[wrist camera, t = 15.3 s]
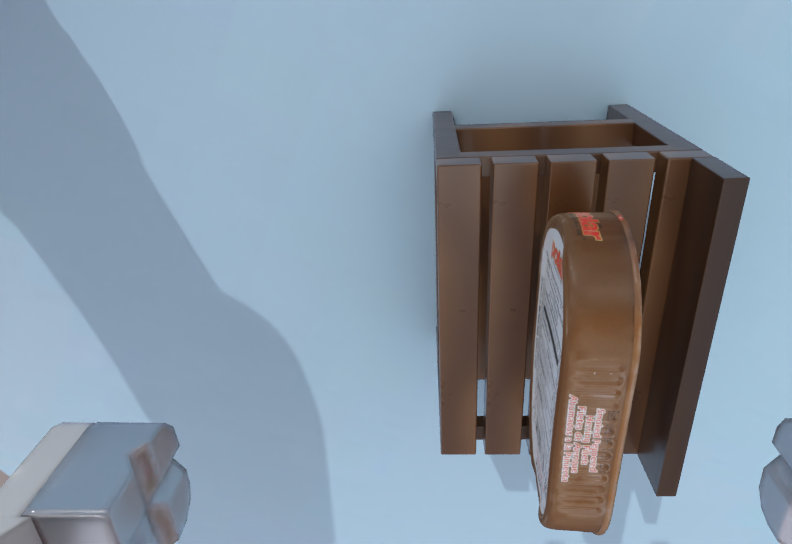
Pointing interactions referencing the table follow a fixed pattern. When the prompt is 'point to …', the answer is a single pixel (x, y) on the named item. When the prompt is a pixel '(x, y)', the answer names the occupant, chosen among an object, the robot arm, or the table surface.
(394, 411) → the table surface
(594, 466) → the tin
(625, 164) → the rack
